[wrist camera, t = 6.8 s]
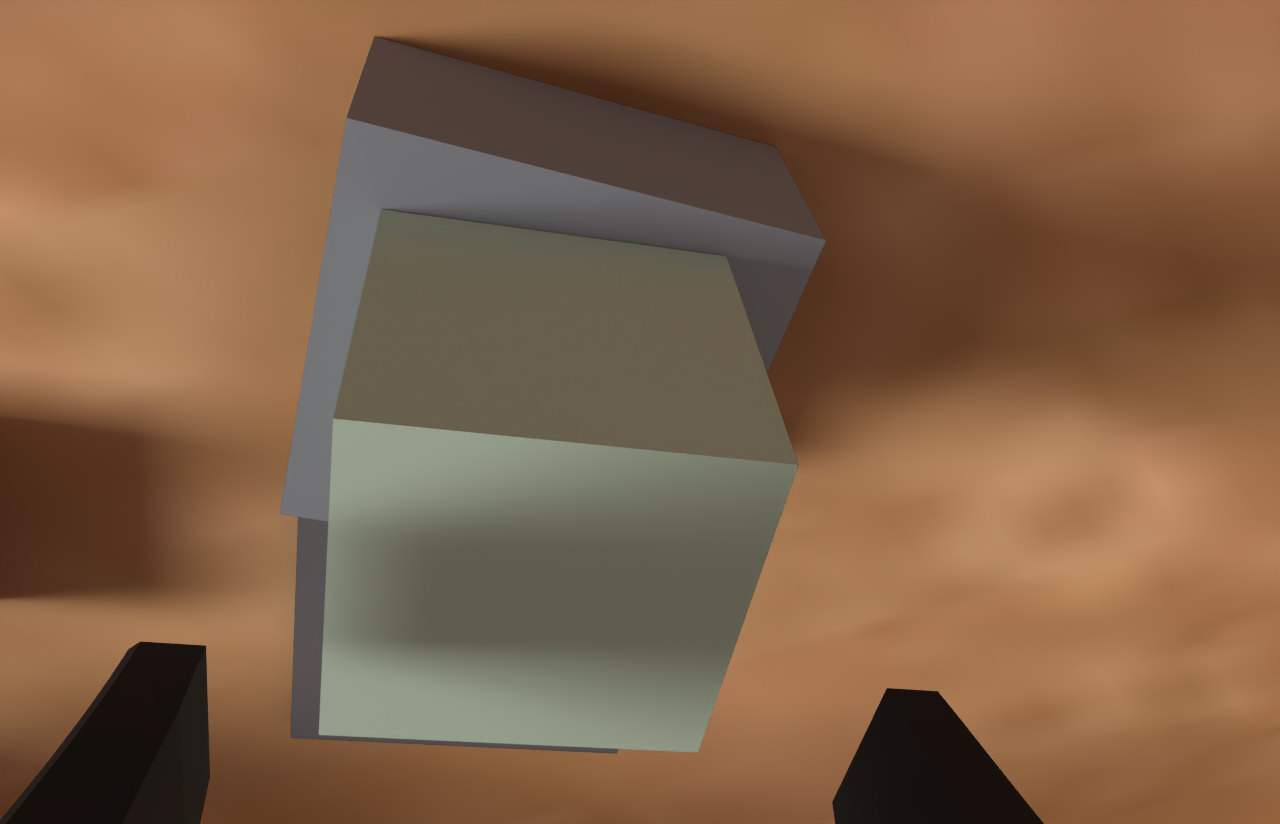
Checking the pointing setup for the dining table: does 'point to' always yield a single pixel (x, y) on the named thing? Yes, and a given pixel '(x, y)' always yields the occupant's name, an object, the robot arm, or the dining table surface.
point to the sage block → (544, 490)
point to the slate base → (535, 202)
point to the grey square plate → (311, 647)
